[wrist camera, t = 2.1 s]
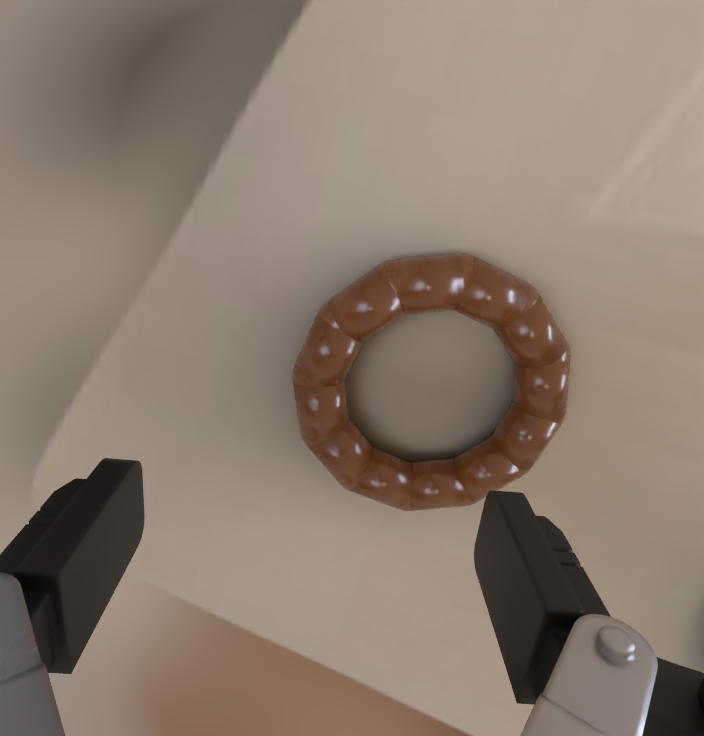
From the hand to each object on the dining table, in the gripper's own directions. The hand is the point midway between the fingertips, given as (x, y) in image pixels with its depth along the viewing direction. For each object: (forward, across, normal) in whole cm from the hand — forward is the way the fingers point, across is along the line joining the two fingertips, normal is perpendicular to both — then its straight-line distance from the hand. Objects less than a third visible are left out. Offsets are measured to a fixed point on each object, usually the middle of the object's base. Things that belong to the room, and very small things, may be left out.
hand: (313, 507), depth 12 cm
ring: (+7, -4, 0) cm, 8 cm away
